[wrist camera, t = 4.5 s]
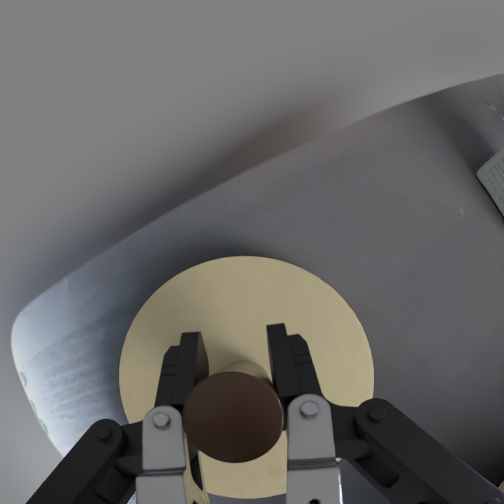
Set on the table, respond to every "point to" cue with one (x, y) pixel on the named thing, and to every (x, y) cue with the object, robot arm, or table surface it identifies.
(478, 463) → the table surface
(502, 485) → the pot
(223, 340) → the lid
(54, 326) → the table surface
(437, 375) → the table surface
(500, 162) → the cosmetic box
